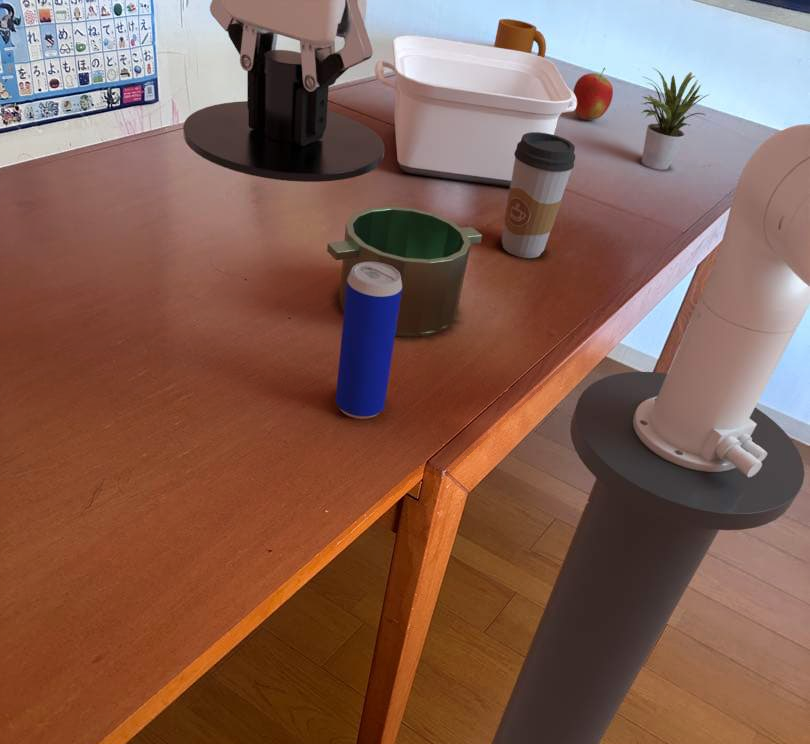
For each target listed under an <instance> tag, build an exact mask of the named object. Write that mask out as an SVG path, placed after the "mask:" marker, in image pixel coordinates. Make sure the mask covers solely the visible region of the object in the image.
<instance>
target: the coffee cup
mask: <svg viewBox="0 0 810 744" xmlns="http://www.w3.org/2000/svg"><path fill="white" fill-rule="evenodd" d="M575 150H576V147H575V145H574V143H573V142H571V141H570V140H569V139H566V138H565V137H561V136H559V135H555V134H554V135H552V134H547V133H540V132H531V133H526V134H524V135H523V136H522V139H521V141H520V142H519V143H518V144H517V149H516V151H515V154H514V155H515V162H514V168H513V174H512V180H511V186H510V187H509V189H508V196H507V202H506V208H505V214H504V225H503V229H502V236H501V244H502V248H503V250H505V251H506V252H507V253H508V254H511V255H513V256H515V257H519V258H525V259H532V258H538V257H539V256H541V254H542V253H544V251H545V249H546V245H547V243H548V239H549V237H550V234H551V231H552V229H553V227H554V224H555V221H556V219H557V216H558V212H559V210H560V206H561V204H562V200H563V195H564V192H565V189H566V187H567V185H568V180H569V178H570V175H571V172H572V170H573V169H574V167H575V160H576V154H575Z"/></svg>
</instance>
